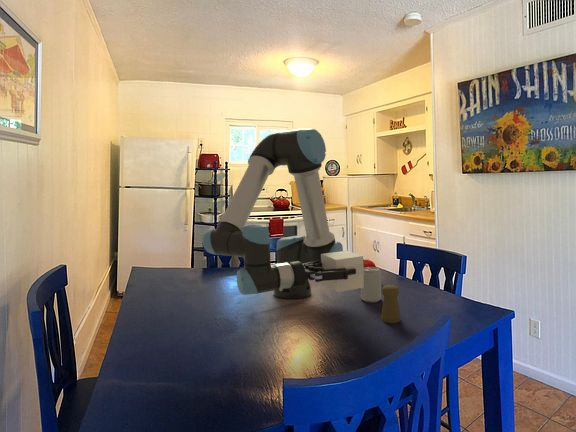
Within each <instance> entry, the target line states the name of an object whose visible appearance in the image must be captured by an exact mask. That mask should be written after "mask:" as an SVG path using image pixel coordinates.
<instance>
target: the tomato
mask: <svg viewBox="0 0 576 432" xmlns="http://www.w3.org/2000/svg"><path fill="white" fill-rule="evenodd" d="M363 265H364V268H365V267H375V268H377V266H376V264H375V263H374V262H373V261H372V260H371V259H370V258H369V259H364V258H363Z"/></svg>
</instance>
